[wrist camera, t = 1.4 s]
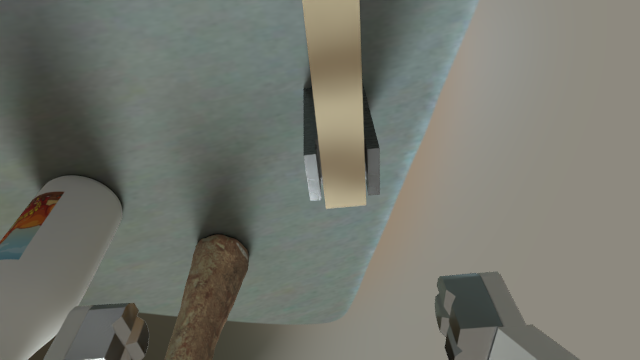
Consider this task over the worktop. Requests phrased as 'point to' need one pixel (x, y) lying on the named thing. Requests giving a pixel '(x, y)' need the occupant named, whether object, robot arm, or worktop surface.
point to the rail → (337, 97)
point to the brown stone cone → (208, 297)
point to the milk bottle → (52, 260)
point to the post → (313, 151)
